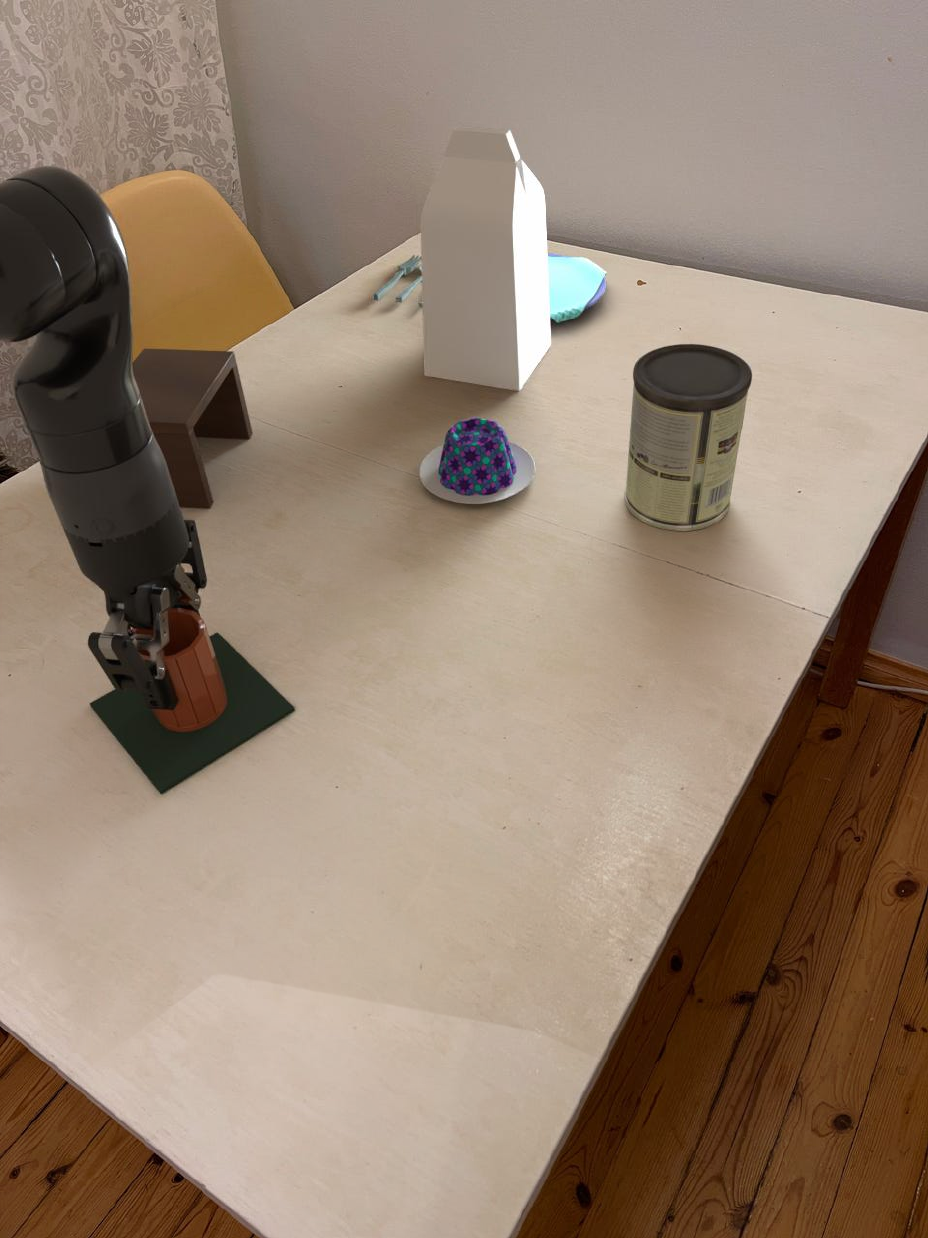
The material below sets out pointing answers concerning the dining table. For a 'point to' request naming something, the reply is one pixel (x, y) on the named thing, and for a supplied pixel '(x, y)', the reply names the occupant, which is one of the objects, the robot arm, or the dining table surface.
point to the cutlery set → (567, 278)
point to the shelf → (191, 411)
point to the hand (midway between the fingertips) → (179, 674)
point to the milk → (484, 264)
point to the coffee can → (685, 435)
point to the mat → (189, 752)
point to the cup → (190, 673)
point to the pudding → (477, 464)
